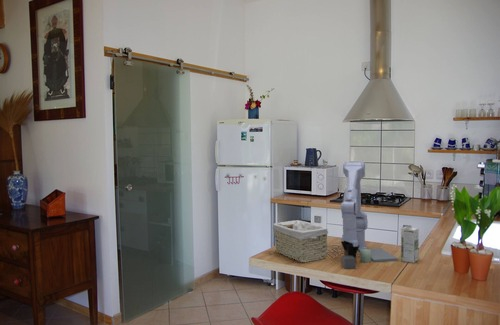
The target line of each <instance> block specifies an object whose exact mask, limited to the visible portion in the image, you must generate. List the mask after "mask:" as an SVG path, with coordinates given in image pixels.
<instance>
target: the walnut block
mask: <svg viewBox="0 0 500 325" xmlns="http://www.w3.org/2000/svg"><path fill="white" fill-rule="evenodd" d="M343 251H344V252H343V256H349V255H348V250H344V249H343ZM355 264H357V256H356V257H355Z"/></svg>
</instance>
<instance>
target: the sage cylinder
mask: <svg viewBox="0 0 500 325" xmlns="http://www.w3.org/2000/svg"><path fill="white" fill-rule="evenodd" d="M370 249H371V248H368V249H361V250H360V252H359V253H360V254H359V255H360V256H359V257H360V262H361V263H364V264H368V263H369V264H370V263H372V260H371V250H370Z"/></svg>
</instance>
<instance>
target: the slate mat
mask: <svg viewBox="0 0 500 325" xmlns="http://www.w3.org/2000/svg"><path fill="white" fill-rule="evenodd" d="M369 249H370V250H371V262H374V263H383V262H394V261H395V262H397V261H399V258H398V257H396V256H395V255H394V254H391V253H389V252H388V251H386V250H384V249H383V248H381V247H379V248H378V247H375V248H369ZM360 250H361V249H358V252H359V253H360Z"/></svg>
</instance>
